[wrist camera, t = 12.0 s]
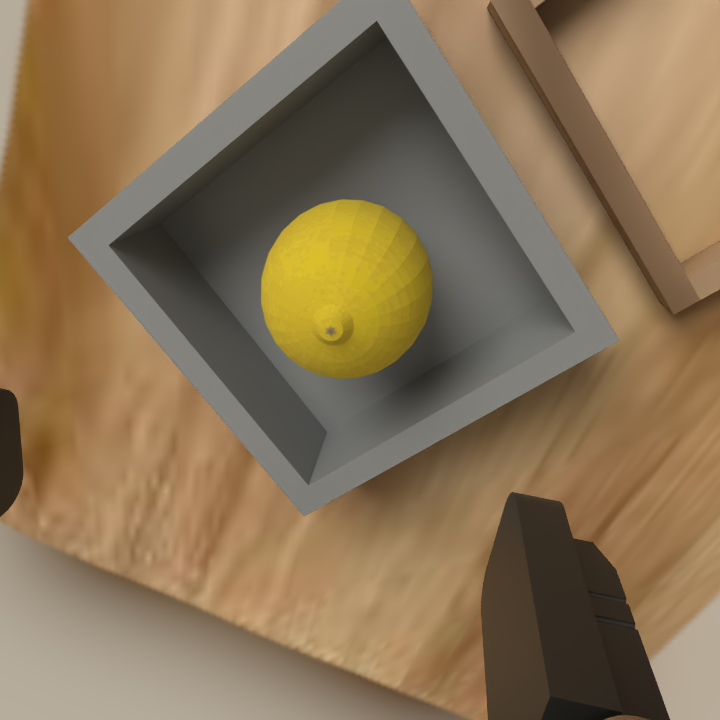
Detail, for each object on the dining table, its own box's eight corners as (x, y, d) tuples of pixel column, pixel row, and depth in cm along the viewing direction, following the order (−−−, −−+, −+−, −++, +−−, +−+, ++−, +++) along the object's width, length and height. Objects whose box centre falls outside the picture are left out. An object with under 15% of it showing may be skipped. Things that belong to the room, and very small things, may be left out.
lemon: (273, 296, 25) (209, 380, 18) (315, 161, 23) (261, 195, 15) (402, 343, 25) (390, 447, 18) (455, 215, 23) (467, 273, 16)
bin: (397, -7, 21) (385, -39, 17) (585, 296, 24) (619, 340, 20) (135, 214, 25) (67, 237, 21) (325, 450, 28) (303, 516, 24)
